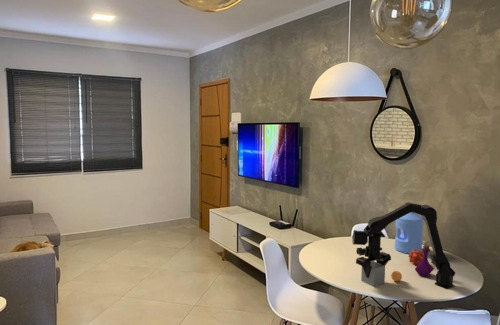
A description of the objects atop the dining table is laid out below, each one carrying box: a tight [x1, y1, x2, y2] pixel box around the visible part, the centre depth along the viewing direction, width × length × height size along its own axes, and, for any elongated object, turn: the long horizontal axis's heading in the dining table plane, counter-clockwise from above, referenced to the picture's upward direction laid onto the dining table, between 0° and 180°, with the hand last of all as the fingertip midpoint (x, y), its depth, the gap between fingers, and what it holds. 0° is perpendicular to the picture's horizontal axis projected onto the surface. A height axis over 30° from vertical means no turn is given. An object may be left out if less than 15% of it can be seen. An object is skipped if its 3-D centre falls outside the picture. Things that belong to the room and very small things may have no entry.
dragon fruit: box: [408, 250, 424, 267], centre depth 209 cm, size 8×8×12 cm
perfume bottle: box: [414, 240, 435, 277], centre depth 194 cm, size 8×8×18 cm
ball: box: [390, 270, 403, 282], centre depth 187 cm, size 5×5×5 cm
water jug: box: [394, 212, 424, 255], centre depth 231 cm, size 16×16×28 cm
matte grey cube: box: [360, 261, 386, 287], centre depth 185 cm, size 8×8×9 cm
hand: (373, 276), depth 185 cm, fingers closed on matte grey cube, 8 cm apart
